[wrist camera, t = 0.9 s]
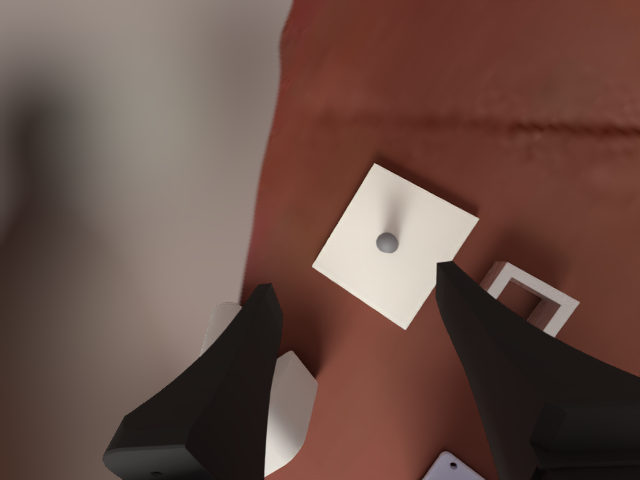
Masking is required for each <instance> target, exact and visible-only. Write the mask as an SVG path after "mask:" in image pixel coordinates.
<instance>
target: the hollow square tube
mask: <svg viewBox="0 0 640 480" xmlns="http://www.w3.org/2000/svg"><path fill="white" fill-rule="evenodd" d="M509 280H510V281H511V282H513V283H515V284H517V285H518V286H520V287H522V288H524V289H525V290H527V291H529V292H531V293H532V294H534V295H536V296H538V297H539V298H541V300H540V302H539V303H538V305H537V306H536V307H535V309H534V310H533V312H532V313H531V314H530V316H529V317H528V319H527V320H526V321H528V322H529V323H531V324H532V325H534V326H535V327H537V328H539V329H540V330H542V331H544V332H545V333H547V334H549V335H551V336H553V337H555V336H556V335H557V333H558V332H559V330H560V329H561V328H562V326H563V325H564V324H565V322H566V321H567V319H568V318H569V317H570V315H571V314H572V313H573V311H574V310H575V308H576V307H577V306H578V304H579V303H580V302H578V301H577V300H575V299H573V298H571V297H569V296H568V295H566V294H564V293H562V292H560V291H559V290H557V289H555V288H553V287H551V286H550V285H548V284H546V283H544V282H542V281H541V280H539V279H537V278H535V277H533V276H532V275H530V274H528V273H526V272H524V271H523V270H521V269H519V268H517V267H515V266H514V265H512V264H510V263H508V262H498V261H495V262H494V264H493V265H492V267H491V268H490V270H489V271H488V273H487V274H486V276H485V277H484V278H483V280H482V281H481V283H480V284H479V286H481V287H482V288H483V289H484V290H485V291H487V292H488V293H489V294H490V295H491V296H493V297H494V298H495V299H497V297H498V296H499V295H500V293H501V292H502V290H503V289H504V287H505V286H506V284H507V283H508V282H509Z"/></svg>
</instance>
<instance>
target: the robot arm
mask: <svg viewBox="0 0 640 480" xmlns="http://www.w3.org/2000/svg"><path fill="white" fill-rule="evenodd" d="M436 301H437V304H438V307H439V311H440V314H441V317H442V320H443V322H444V325H445V327H446V329H447V331H448V334H449V336H450V338H451V340H452V343H453V345H454V347H455V349H456V351H457V354H458V356H459V358H460V360H461V363H462V365H463V367H464V370H465V372H466V375H467V377H468V380H469V383H470V386H471V389H472V392H473V395H474V398H475V401H476V404H477V407H478V410H479V413H480V416H481V419H482V423H483V426H484V429H485V432H486V436H487V439H488V442H489V446H490V449H491V452H492V456H493V459H494V463H495V466H496V470H497V473H498V477H499V480H640V377H637V376H635V375H633V374H630V373H628V372H625V371H623V370H621V369H618V368H616V367H614V366H611V365H609V364H607V363H604V362H602V361H600V360H598V359H596V358H594V357H592V356H589V355H587V354H585V353H583V352H581V351H579V350H577V349H575V348H573V347H571V346H569V345H567V344H565V343H564V342H562V341H560V340H558V339H556V338H555V337H553V336H551V335H549V334H547V333H545V332H544V331H542V330H540V329H539V328H537V327H535V326H534V325H532V324H531V323H529V322H528V321H526V320H524V319H523V318H521V317H520V316H518V315H517V314H515V313H514V312H513V311H511V310H510V309H508V308H507V307H506V306H504V305H503V304H502V303H500V302H499V301H498V300H497V299H495V298H494V297H493V296H491V295H490V294H489V293H488V292H487V291H485V290H484V289H483V288H482V287H481V286H479V285H478V284H477V283H476V282H475V281H474V280H473V279H471V278H470V277H469V276H468V275H467V274H466V273H465V272H464V271H463V270H462V269H460V268H459V267H458V266H457V265H456V264H455V263H454V262H453V261H446V262H438V263H437V267H436ZM282 323H283V313H282V311H281V308H280V305H279V303H278V300H277V297H276V294H275V292H274V289H273V286H272V284H271V283H269V284H261V285H258V286H257V287H256V289H255V290H254V291H253V293H252V294H251V296H250V297H249V298H248V300H247V301H246V303H245V304H244V305H243V307H242V308H241V309H240V311H239V312H238V313H237V315H236V316H235V317H234V319H233V320H232V321H231V323H230V324H229V325H228V326H227V328H226V329H225V330H224V331H223V332H222V334H221V335H220V336H219V337H218V338H217V339H216V341H215V342H214V343H213V344H212V345H211V346H210V347H209V348H208V349H207V350H206V351H205V352H204V353H203V354H202V355H201V356H200V357H199V358H198V359H197V360H196V361H195V362H194V363H193V364H192V365H191V366H189V367H188V368H187V369H186V370H185V371H184V372H183V373H182V374H181V375H180V376H178V377H177V378H176V379H175V380H174V381H172V382H171V383H170V384H169V385H167V386H166V387H165V388H164V389H162V390H161V391H160V392H159V393H157V394H156V395H154V396H153V397H152V398H150V399H149V400H147V401H146V402H145V403H143V404H142V405H140V406H139V407H138V408H136V409H135V410H133V411H132V412H131V413H129V414H128V415H126V416H125V417H124V418H123V420H122V422H121V424H120V426H119V427H118V429H117V431H116V433H115V435H114V437H113V438H112V440H111V442H110V444H109V446H108V448H107V449H106V451H105V453H104V455H103V462H104V464H105V466H106V467H107V468H108V469H109V470H110V471H111V472H113V473H114V474H116V475H117V476H118V477H120V478H121V479H122V480H264V476H265V455H266V438H267V426H268V414H269V404H270V394H271V387H272V381H273V376H274V371H275V366H276V361H277V356H278V351H279V346H280V341H281V336H282ZM452 462H454V463H456V466H451V465H450V463H452ZM422 480H485V479H484V478H483V477H481V476H480V475H479V474H477V473H476V472H475V471H473V470H472V469H471V468H469V467H468V466H467V465H465V464H464V463H463V462H462V461H460V460H459V459H458V458H456V457H455V456H454V455H452V454H451V453H449V452H447V451H444V452H442V453H441V454H440V455H439V457H438V458H437V460H436V461H435V462H434V464H433V465H432V467H431V468H430V469H429V471H428V472H427V474H426V475H425V476H424V478H423V479H422Z"/></svg>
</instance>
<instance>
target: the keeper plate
mask: <svg viewBox="0 0 640 480" xmlns="http://www.w3.org/2000/svg"><path fill="white" fill-rule="evenodd" d="M478 220H479V218H477V217H475V216H473V215H471V214H469V213H467V212H465V211H463V210H462V209H460V208H458V207H456V206H454V205H452V204H450V203H448V202H447V201H445V200H443V199H441V198H439V197H437V196H435V195H433V194H431V193H430V192H428V191H426V190H424V189H422V188H420V187H418V186H416V185H415V184H413V183H411V182H409V181H407V180H405V179H403V178H401V177H399V176H398V175H396V174H394V173H392V172H390V171H388V170H386V169H384V168H382V167H381V166H379V165H377V164H375V163H374V165H373V167H372V168H371V170H370V171H369V173H368V175H367V176H366V178H365V180H364V181H363V183H362V185H361V186H360V188H359V190H358V191H357V193H356V195H355V196H354V198H353V200H352V201H351V203H350V204H349V206H348V208H347V209H346V211H345V213H344V214H343V216H342V218H341V219H340V221H339V223H338V224H337V226H336V228H335V229H334V231H333V232H332V234H331V236H330V237H329V239H328V241H327V242H326V244H325V246H324V247H323V249H322V251H321V252H320V254H319V256H318V257H317V259H316V261H315V262H314V264H313V265H312V267H313V268H315V269H316V270H318V271H319V272H321V273H322V274H324V275H325V276H327V277H328V278H329V279H331V280H332V281H334V282H335V283H337V284H338V285H340V286H341V287H343V288H344V289H346V290H347V291H349V292H350V293H352V294H353V295H355V296H356V297H357V298H359V299H360V300H362V301H363V302H365V303H366V304H368V305H369V306H371V307H372V308H374V309H375V310H377V311H378V312H380V313H381V314H383V315H384V316H386V317H387V318H388V319H390V320H391V321H393V322H394V323H396V324H397V325H399V326H400V327H402V328H403V329H405V330H406V329H407V327H408V326H409V324H410V323H411V321H412V320H413V318H414V317H415V315H416V314H417V312H418V311H419V309H420V308H421V306H422V304H423V303H424V301H425V300H426V298H427V297H428V295H429V294H430V292H431V291H432V289H433V288H434V286H435V285H436V267H437V263H438V262H446V261H452V259H453V258H454V256H455V255H456V253H457V252H458V250H459V249H460V247H461V246H462V244H463V243H464V241H465V240H466V238H467V237H468V235H469V234H470V232H471V231H472V229H473V228H474V226H475V225H476V223H477V221H478Z"/></svg>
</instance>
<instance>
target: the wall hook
mask: <svg viewBox="0 0 640 480" xmlns="http://www.w3.org/2000/svg"><path fill="white" fill-rule="evenodd" d="M241 308H242V307H241V306H240V305H238V304H236V303H231V302H226V303H222V304H219V305H217V306H216V307H215V308H214V310H213V311H212V315H211V319H210V322H209V326H208V329H207V332H206V336H205V339H204V343H203V346H202V350H201V354H200V356H201V355H202V354H203V353H204V352H205V351H206V350H207V349H208V348H209V347H210V346H211V345H212V344H213V343H214V342H215V341H216V339H217V338H218V337H219V336H220V335H221V334H222V332H223V331H224V330H225V329H226V328H227V326H228V325H229V324H230V323H231V321H232V320H233V319H234V317H235V316H236V315H237V313H238V312H239V311H240V309H241ZM317 388H318V383H317V381H316V380H315V379H314V377H313V376H312V375H311V373H310V372H309V371H308V370H307V368H306V367H305V366H304V365H303V363H302V362H301V361H300V360H299V358H298V357H297V356H296V354H295V353H294V352H293V351H289V352H287V353H285V354H284V355H282V356H281V357H279V358H278V359H277V361H276V366H275V371H274V376H273V381H272V387H271V394H270V404H269V414H268V426H267V438H266V455H265V476H267V475H269V474H270V473H272V472H274V471H275V470H277V469H279V468H280V467H282V466H284V465H285V464H287V463H288V462H289V461H290V460H291V459H292V458H293V457H294V456H295V455H296V454H297V453H298V451H299V450H300V448H301V447H302V445H303V443H304V441H305V438H306V434H307V430H308V426H309V422H310V418H311V414H312V409H313V405H314V401H315V397H316V392H317ZM265 476H264V477H265Z"/></svg>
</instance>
